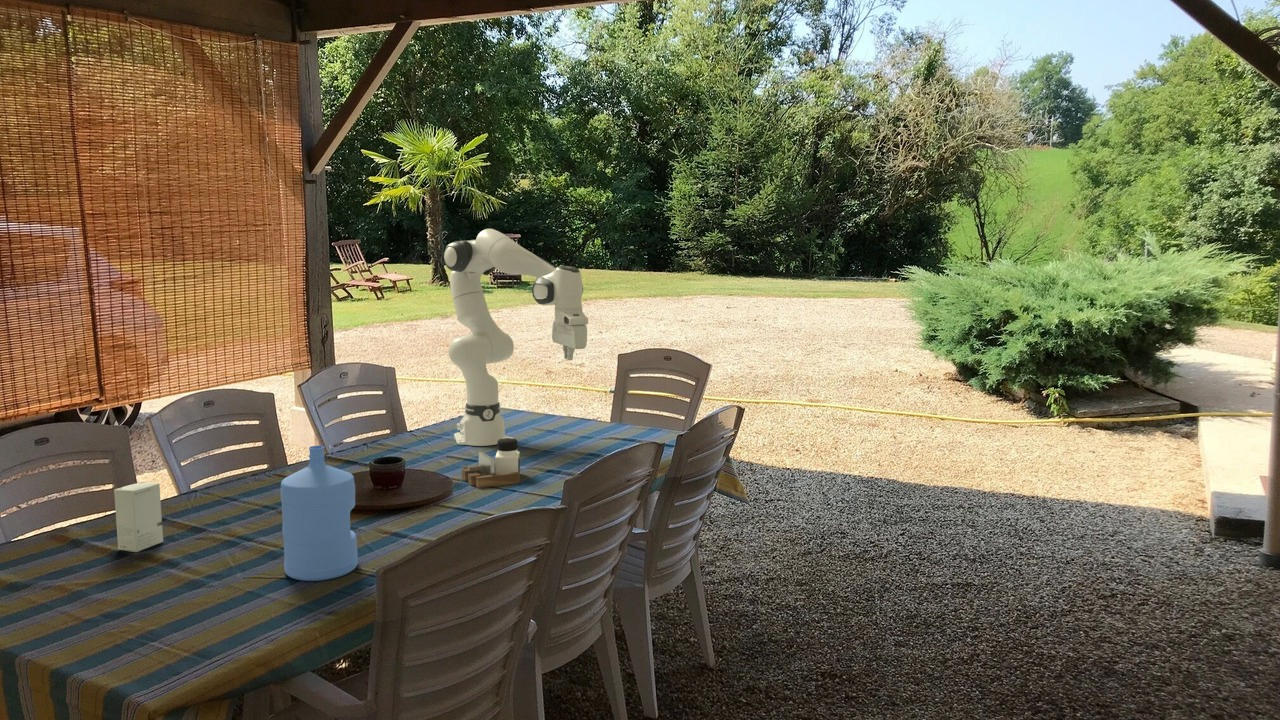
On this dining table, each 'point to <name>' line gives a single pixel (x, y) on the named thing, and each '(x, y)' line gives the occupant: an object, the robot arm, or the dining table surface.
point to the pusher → (484, 465)
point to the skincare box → (138, 516)
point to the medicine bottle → (507, 456)
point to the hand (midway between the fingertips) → (568, 359)
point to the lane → (488, 478)
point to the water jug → (318, 521)
